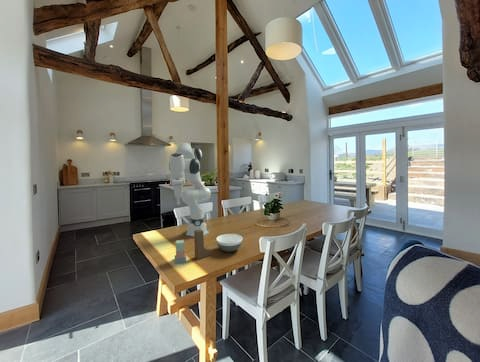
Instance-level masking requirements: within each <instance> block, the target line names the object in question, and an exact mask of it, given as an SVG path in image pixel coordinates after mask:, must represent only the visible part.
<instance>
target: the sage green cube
mask: <svg viewBox="0 0 480 362" xmlns="http://www.w3.org/2000/svg"><path fill="white" fill-rule="evenodd" d="M183 250H184V251H185V239H178V240H175V252H176V251H183Z"/></svg>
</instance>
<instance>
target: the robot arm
mask: <svg viewBox="0 0 480 362" xmlns="http://www.w3.org/2000/svg"><path fill="white" fill-rule="evenodd" d="M202 157H203V152H202V150H201V149H200V148H199V147H194V148H192V146H191V144H190V143H188V142H182V143H180V144H179V145H178V146H177V148H176V149H175V153H171V154H170V157H169V164H168V165H169V166H168V167H169V169H168V170H169V171H170V174H169V180H170V181H169V183H170V184H171V185H172V188H173V195H174V197H175V199H176V205H177V206H178V205H181V200H182V201H183V203H185V204H186V205H187V206H188V208H189V216H190V218H189V224H187V231H186V232H185V235H186V236H187V237H192V238H193V237H194V231H195V230H199V229H201V230H203V234H204V236H206V235H208V234H210V233H209V232H210V231H208V230H207V223H206V222H205V216H204V207H202V206H201V205H199V204H198V202H203V201H206V200H209V199H211V195H212V192H211V190H210V188H209V187H207V186H205V184H204V183H203V180H202V178H201V173H200V169H201V164H200V161H201V160H202ZM186 180H187V183H188V184H189V185H191V186H193V188H190V189H189V188H188V189H185V190H183V186H184V184H185V183H186Z"/></svg>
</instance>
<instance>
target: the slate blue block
mask: <svg viewBox="0 0 480 362" xmlns="http://www.w3.org/2000/svg"><path fill="white" fill-rule="evenodd" d="M184 254H185V258H181V259H176V254H175V255H174V264H175V265H176V264H183V263H187V254H186V253H184Z"/></svg>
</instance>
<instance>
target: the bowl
mask: <svg viewBox="0 0 480 362" xmlns="http://www.w3.org/2000/svg"><path fill="white" fill-rule="evenodd" d="M243 239H244V238H243V236H242V235H240V234H236V233H224V234H220V235H218V236H217V237H216V238H215V240H216V244H217V247H218V248H219V249H220V250H222V251H224V252H226V253H232V252H235V251H236V250H238V249H240V247H241V246H242V243H243Z"/></svg>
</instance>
